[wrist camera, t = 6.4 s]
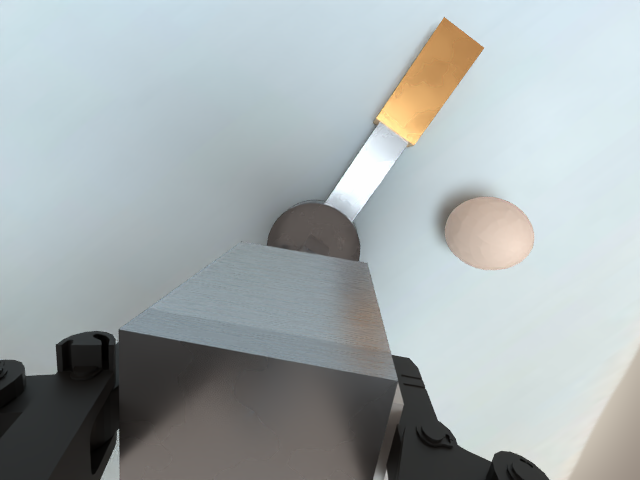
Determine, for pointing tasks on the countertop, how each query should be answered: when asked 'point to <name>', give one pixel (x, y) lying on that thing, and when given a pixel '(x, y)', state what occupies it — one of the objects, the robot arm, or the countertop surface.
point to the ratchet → (380, 149)
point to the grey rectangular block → (257, 373)
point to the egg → (489, 233)
